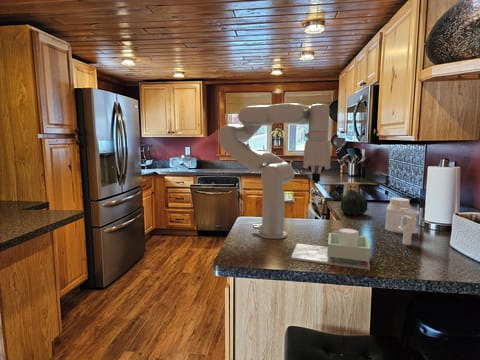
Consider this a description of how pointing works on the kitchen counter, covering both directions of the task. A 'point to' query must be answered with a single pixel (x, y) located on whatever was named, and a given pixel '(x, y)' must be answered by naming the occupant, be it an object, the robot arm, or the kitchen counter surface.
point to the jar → (395, 213)
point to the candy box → (350, 187)
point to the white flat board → (324, 257)
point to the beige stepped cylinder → (408, 224)
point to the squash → (354, 203)
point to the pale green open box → (348, 249)
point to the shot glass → (348, 236)
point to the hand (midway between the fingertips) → (315, 183)
